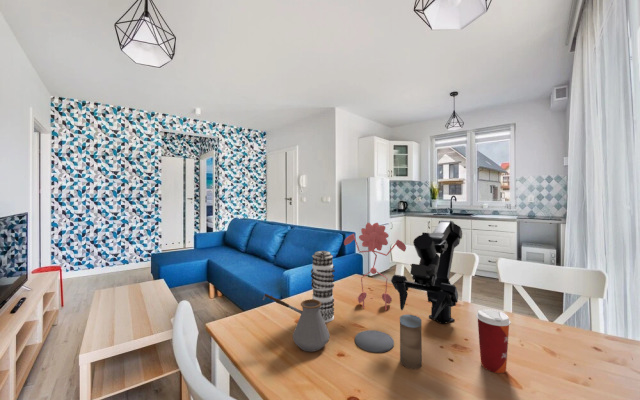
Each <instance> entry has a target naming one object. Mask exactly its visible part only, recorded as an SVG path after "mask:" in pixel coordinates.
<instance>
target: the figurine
mask: <svg viewBox="0 0 640 400" xmlns="http://www.w3.org/2000/svg"><path fill="white" fill-rule="evenodd" d="M360 230H361V235H359V236H358V239H359V240H360V241H361V242H362V243H361V246H362V247H363V248H367V249H368V250H360V248H359V245H358V242H357V239H356V236H355V233H352V234H349V235H348V236H347V237H345V239H344V241H343V244H344V246H346V245H349V244H351V243H352V242H353V241H354V242H355V245H356V248H357V252H359V253H368V252H372V253H373V254H374V256H375V257H374V261H373V265H372V267H371V268H370V270H369V271H368V272H367V273H365V275H363V276H362V277H360V283H361V291H362V292H361V293H360V294H359V295H358V296H357V301H358V303H359V304H360V303H362V309H365V300H366V298H367V297H368V295H367V292H366V291H364V286H363V278H364V277H366V276H367V275H369V274H370V273H371V274H372V275H375V274H376V273H377V274H379V275H380V276H382V277H383V278H385V279H386V281H385V293H382V295H381V297H380V299H382V300H383V302H384V306H385V307H384V308H385V311H387V310H388V307H387V305H390V304H391V303H392V301H393V300H392V296H391V295H390V294H389V293H387V288H388V277H387V276H385V275H383V274H382V273H381V272H378V271H377V268H376V267H375V264H376V262H377V261H376V260H377V257H378V255H377V254H380V255H383V256H386V257H388V256H389V254H390V253H391V252H392V251H393V249H394V248H395V246H396V247H397V248H398V249H400V251H403V252H406V250H407V246H406V244H405V243H404V241H402V240H400V239H397V240H396V241H395V242H394V244H393V246H392V247H391V248H390V249H389V250H388V252H387V253H384V252H380V251H382V249H383V246H388V244H389V241H388V239H387V238H389V233H387V232H386V226H385V225H379V223H378V222H375V223H373V224H371V223H370V222H367V223H366V224H365V227H364V228H361V229H360Z"/></svg>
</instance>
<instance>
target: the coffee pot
mask: <svg viewBox="0 0 640 400" xmlns="http://www.w3.org/2000/svg"><path fill="white" fill-rule="evenodd" d="M266 298H269V300H270V301H274V302H275V303H276V304H279V305H281V306H284V307H285V308H288V309H290V310H292V311H295V312H296V313H298V314H300V316H299V319H298V321H297V324H296V326H295V328H294V330H293V333H292V339H293V342H294V344H295V345H296V346H297V347H299V348H300V349H301V350H302V351H304V352H311V353H312V352H317V351H319V350H321V349H323V347H325V345H327V343H328V341H329V339H330V331H329V329H328V326H327V323H325V322H324V320H323V317H322V315H321V313H320V310H319V308H320V306H321V302H320V301H318V300H315V299H310V298H309V299H305V300H303V301H301V302H300V307H302V310H301V309H299V308H297V307H295V306H292V305H290V304H289V303H286V302H285V301H284V300H282V299H280V298H277V297H274V296H273V295H269V294H267V293H265V294H264V295H263V298H262V301H264V300H265V299H266Z"/></svg>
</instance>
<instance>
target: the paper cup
mask: <svg viewBox="0 0 640 400" xmlns="http://www.w3.org/2000/svg"><path fill="white" fill-rule="evenodd" d="M475 317H476V318H477V329H478V342H479V345H478V346H479V354H480V355H479V357H480V365H481V366H482V367H483V368H484V369H485V370H487V371H488V372H492V373H495V374H504V373H506V370H507V364H508V361H507V360H508V348H509V347H508V346H509V335H510V334H509V330H510V325H511V320H510V318H509V316H508V315H507V314H506V313H504V312H502V311H500V310H499V311H498V310H495V309H488V308H484V309H479V310H478V311H477V314H476V315H475Z"/></svg>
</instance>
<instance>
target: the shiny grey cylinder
mask: <svg viewBox="0 0 640 400" xmlns="http://www.w3.org/2000/svg"><path fill="white" fill-rule="evenodd" d="M422 323H423V322H422V319H421V317H419V316H417V315H414V314H402V315H400V316H399V362H400V364H401V366H403V367H405V368H407V369H410V370H418V369H420V368H421V367H422V366H423V360H422V359H423V354H422V353H423V352H422V351H423V344H422V343H423V341H422V337H423V336H422V335H423V334H422V325H423V324H422Z"/></svg>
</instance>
